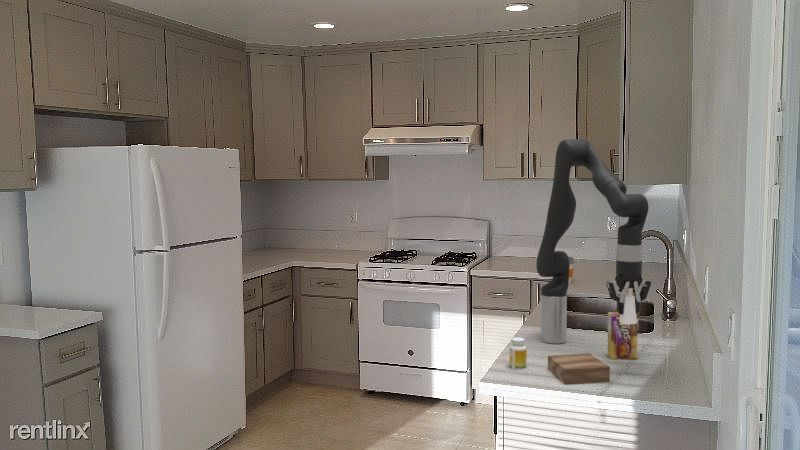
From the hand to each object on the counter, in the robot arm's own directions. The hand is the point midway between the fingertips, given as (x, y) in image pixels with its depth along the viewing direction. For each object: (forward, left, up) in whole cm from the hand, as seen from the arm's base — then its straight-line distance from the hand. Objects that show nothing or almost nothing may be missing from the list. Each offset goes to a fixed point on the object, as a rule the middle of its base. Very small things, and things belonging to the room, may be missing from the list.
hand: (627, 313), depth 196 cm
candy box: (-16, +6, -19) cm, 26 cm away
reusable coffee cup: (-146, +34, -19) cm, 151 cm away
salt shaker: (0, 0, -3) cm, 3 cm away
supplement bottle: (-10, -32, -19) cm, 39 cm away
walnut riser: (0, -16, -19) cm, 25 cm away
